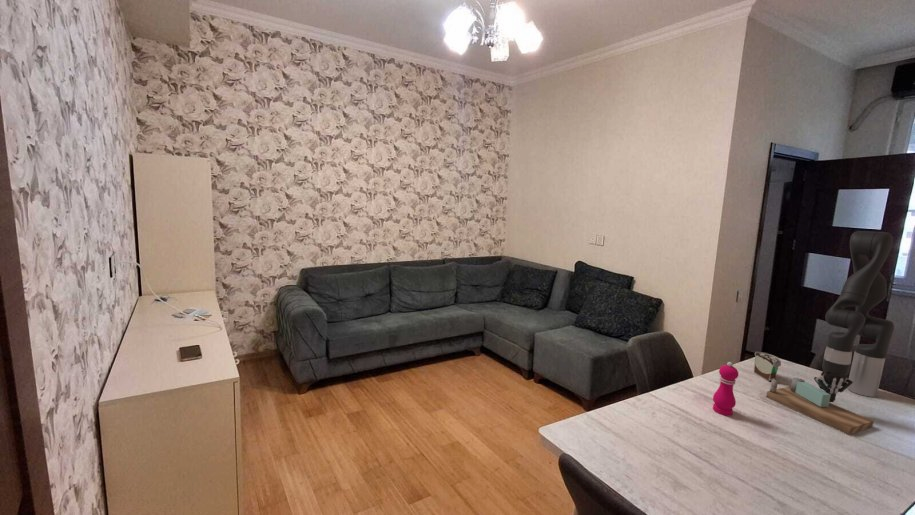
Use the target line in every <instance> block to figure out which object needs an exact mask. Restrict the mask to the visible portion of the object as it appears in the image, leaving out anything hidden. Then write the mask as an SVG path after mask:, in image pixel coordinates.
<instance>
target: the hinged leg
mask: <svg viewBox="0 0 915 515" xmlns="http://www.w3.org/2000/svg"><path fill="white" fill-rule="evenodd" d="M790 386H791V388H790V390H791V391H793V392H795V393H797V394H799V395H801V396H802V397H804V398H806V399H808V400H809V401H811V402H813V403H815V404H816V405H818V406H820V407H828V406H829V403H830V402H829V401H830V396H831V395H830V394H828V393H826V392H825V391H824V390H822V389H821V388H820V387H819V388H818V387H816V385H813V384H811V383H809V382H807V381H805V379H802V378H799V377H792V378H791V384H790Z"/></svg>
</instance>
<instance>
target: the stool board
mask: <svg viewBox="0 0 915 515" xmlns="http://www.w3.org/2000/svg"><path fill="white" fill-rule="evenodd" d="M778 385H779V381H778V380H776V379H775V380H774V379H772V382H770V388H769V390H768V391H766V396H765V397H766V398H767V399H769V400H771V401H774V402H775V403H776V402H777V403H779V404H780V405H783V407H787V408H789V409H791V410H793V411H796V413H797V412H798V413H800V414H802V415H804V416H806V417H809V418H811V419H813V420H815V421H817V422H820V423H821V424H823V425H824V424H825V425H826V426H827V427H828V426H829V427H830V428H832V427H833V429H834V428H835V430H837V431H839V430H840V431H839V432H841V433H843V432H844V433H843V434H845V433H846V435H848V436H849V435H853V434H856V433H858V432H861V431H865V430H869V429H871V428H873V425H874V422H875V421H874V420H872V419H869V418H867V417H865V416H863V415H861V414H858V413H856V412H853V411H850V410H848V409H846V408H843V407H840V406H839V405H836V404H833V402H829V406H828V407H820V406H818V405H816V404H815V403H813V402H811V401H809V400H808V399H806V398H804V397H802V396H801V395H799V394H797V393H795V392H793V391H791V390H790V388H791V385H790V386H789V385H788V386H784V387H780V388H778Z"/></svg>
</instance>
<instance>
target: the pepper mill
mask: <svg viewBox="0 0 915 515" xmlns="http://www.w3.org/2000/svg"><path fill="white" fill-rule="evenodd" d="M733 365H734V363H733V362H731V361H728V362H727V363H726V364H723V365H721V366H720V368H719V371H718V373H719V375H720V376H719V386H718V388H717V389H716V391H715V392H714V393H713V396H712V400H713V404H712V409H713V411H714V412H715V413H718V414H719V415H722V416H729V417H730V416H731V415H733V413H734V410H733V408H735V406H736V396H735V394H734V385H735V384H736V379H738V377H739V371H738V369H737V368H736V367H735V366H733Z"/></svg>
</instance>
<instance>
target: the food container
mask: <svg viewBox="0 0 915 515" xmlns="http://www.w3.org/2000/svg"><path fill="white" fill-rule="evenodd" d="M754 356H755V357H754V366H753V367H754V368H753V374H756V375H757V376H759V378H762V379H764V380H765V381H767V382H769V383H771V382H772V379H774V380H776V376H777V372H778V370H779V367H781V366H782V362H781V358H779V357H778V356H775V355H773V354H770V353H768V352H761V351H755V352H754Z"/></svg>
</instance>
